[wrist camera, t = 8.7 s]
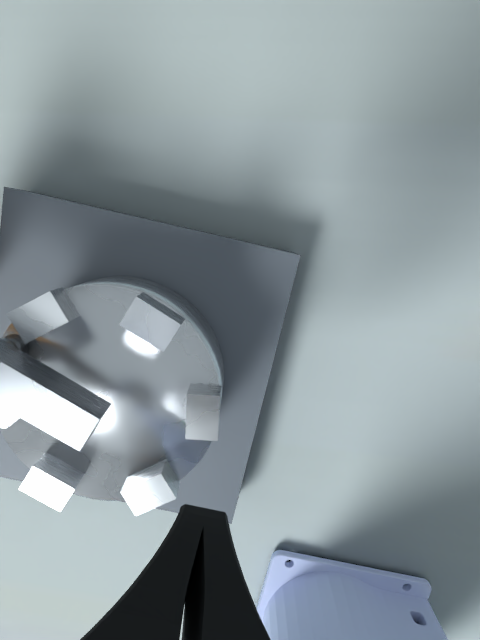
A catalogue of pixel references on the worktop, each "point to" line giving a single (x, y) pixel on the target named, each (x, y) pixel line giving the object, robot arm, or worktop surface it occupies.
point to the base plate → (182, 277)
